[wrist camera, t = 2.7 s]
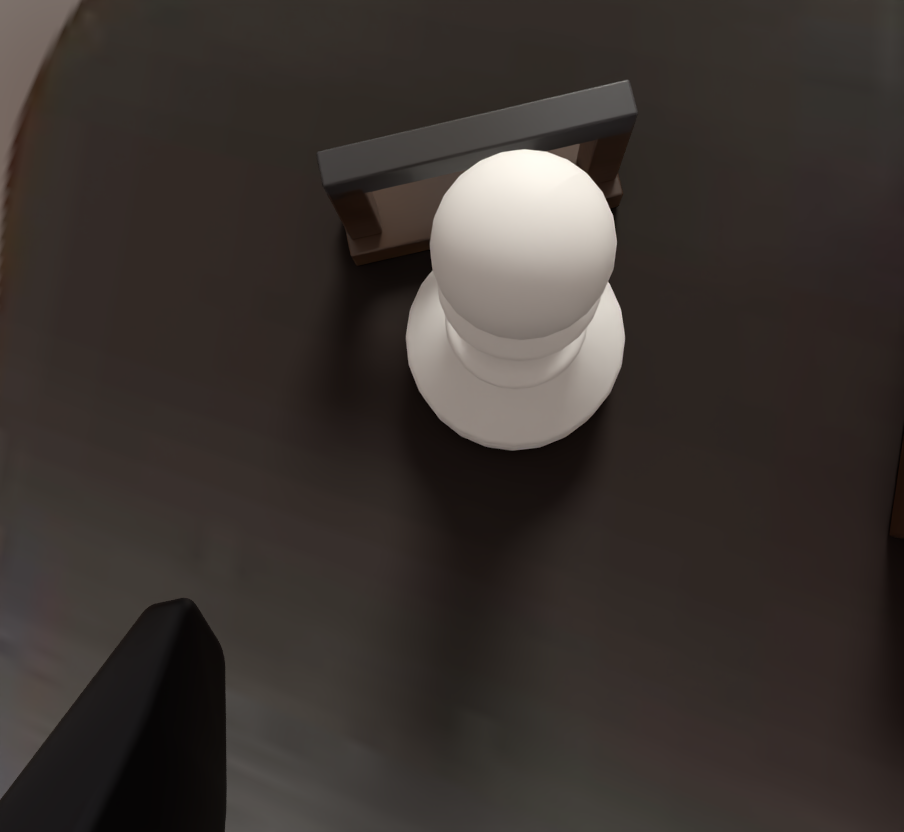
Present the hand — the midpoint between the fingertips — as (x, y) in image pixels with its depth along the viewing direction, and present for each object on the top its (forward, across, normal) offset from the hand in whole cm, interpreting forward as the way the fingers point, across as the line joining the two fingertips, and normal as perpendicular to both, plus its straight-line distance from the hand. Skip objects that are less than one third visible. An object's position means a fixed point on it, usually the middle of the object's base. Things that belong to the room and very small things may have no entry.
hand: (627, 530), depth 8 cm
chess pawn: (+11, 0, +5) cm, 12 cm away
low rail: (+14, 0, +2) cm, 14 cm away
